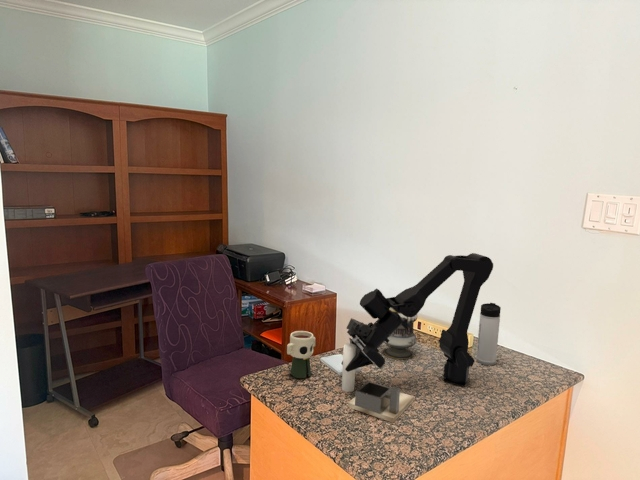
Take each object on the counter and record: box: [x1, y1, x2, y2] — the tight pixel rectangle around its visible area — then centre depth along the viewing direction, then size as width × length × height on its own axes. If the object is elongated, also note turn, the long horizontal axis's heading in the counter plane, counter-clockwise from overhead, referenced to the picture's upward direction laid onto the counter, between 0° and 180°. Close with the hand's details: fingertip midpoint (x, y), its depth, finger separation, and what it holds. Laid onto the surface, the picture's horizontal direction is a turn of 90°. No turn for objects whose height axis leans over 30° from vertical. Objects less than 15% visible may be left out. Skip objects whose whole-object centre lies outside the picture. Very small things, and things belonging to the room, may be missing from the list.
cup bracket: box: [354, 380, 401, 414], centre depth 116 cm, size 10×7×6 cm
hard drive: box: [319, 353, 362, 376], centre depth 144 cm, size 2×8×12 cm
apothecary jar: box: [383, 308, 419, 360], centre depth 155 cm, size 12×12×18 cm
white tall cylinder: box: [341, 343, 356, 393], centre depth 127 cm, size 4×4×13 cm
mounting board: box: [347, 391, 415, 424], centre depth 120 cm, size 13×14×1 cm
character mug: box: [286, 330, 316, 379], centre depth 135 cm, size 11×7×13 cm, turn 133°
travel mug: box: [475, 302, 502, 366], centre depth 150 cm, size 6×7×20 cm
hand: (344, 367), depth 127 cm, fingers closed on white tall cylinder, 4 cm apart
